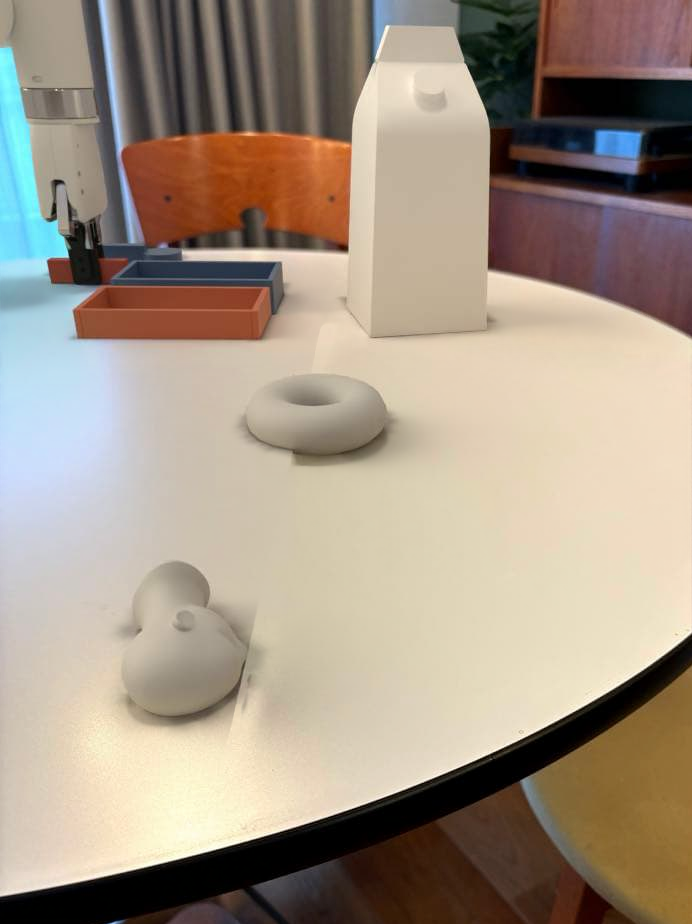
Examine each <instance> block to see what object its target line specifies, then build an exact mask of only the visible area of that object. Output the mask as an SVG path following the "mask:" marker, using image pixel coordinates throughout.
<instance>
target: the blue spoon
mask: <svg viewBox="0 0 692 924" xmlns="http://www.w3.org/2000/svg"><path fill="white" fill-rule="evenodd" d="M102 244H103V249H104V255H105V258H128V264H129V263H131V262H132V261H133V260H162V261H184V258H183V251H182V249H180V248H177V247H155V248H148V247H147V246H148V245H147V243H143V242H142V243H141V242H140V243H139V242H136V243H135V242H133V243H132V242H131V243H129V242H102Z"/></svg>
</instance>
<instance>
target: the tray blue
mask: <svg viewBox="0 0 692 924" xmlns="http://www.w3.org/2000/svg"><path fill="white" fill-rule="evenodd" d="M283 273H284V271H283V262H282V261H281V260H280V261H276V260H275V261H270V260H269V261H268V260H262V261H261V260H260V261H259V260H252V261H251V260H183V261H162V260H133V261H132V262H131V263H129V264H128V265H127V266H126V267H124V268H123V269H122V270H121V271H120V272H118V273H117V274H116V275H115V276H113V277H112V278H111V279H110V282H111V283H110V286H203V287H269V288H270V302H271V315H276V312H277V309H278V308H279V305H280V303H281V301H282V297H283V295H284V294H285V293H284V292H285V289H284V276H283V275H284V274H283Z"/></svg>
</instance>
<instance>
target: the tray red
mask: <svg viewBox="0 0 692 924" xmlns="http://www.w3.org/2000/svg"><path fill="white" fill-rule="evenodd" d="M72 315H73V320H74V325H75V326H74V327H75V331H76V336H77V339H97V340H98V339H102V340H103V339H105V340H107V339H109V340H110V339H114V340H115V339H116V340H118V339H119V340H120V339H121V340H129V339H130V340H261V338H262V336H263V334H264V331H265V328H266V326H267V324H268V322H269V320H270V317H271V316H272V314H271V302H270V288H269V287H203V286H111V285H101V286H100V287H99V288H97V289H96V290H95V291H94V292H92V293H91V294H90V295H89V296H88V297H86V298H85V299H84V300H83V301H82V302H80V303H79V304H77V306H75V307H74V308H73V309H72Z"/></svg>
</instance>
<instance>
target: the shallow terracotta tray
mask: <svg viewBox="0 0 692 924" xmlns="http://www.w3.org/2000/svg"><path fill="white" fill-rule="evenodd" d="M98 259H99V265H100V271H101V277H102V283H101V284H111V282H110V279H111V278H112V277H113V276H115V275H116V274H117V273H118V272H120V271H121V270H122V269H123V268H124V267H126V266H127V265H128V258H98ZM46 264H47V265H46V266H47V269H48V275H49V279H50V280H49V281H50V283H51V284H75V283H74V282H73V277H72V271H71V266H70V261H69V257H50V258H48V259H46Z"/></svg>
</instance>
